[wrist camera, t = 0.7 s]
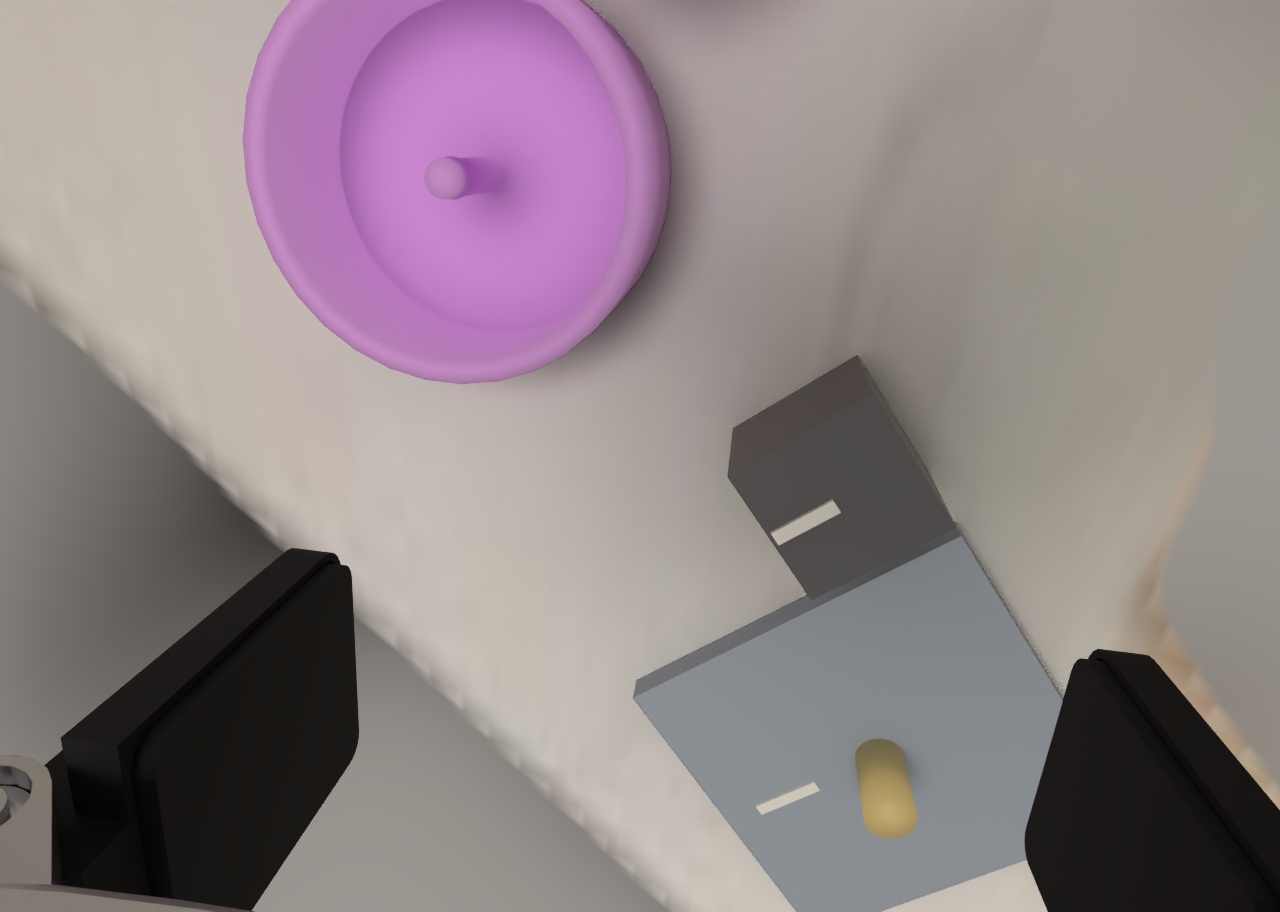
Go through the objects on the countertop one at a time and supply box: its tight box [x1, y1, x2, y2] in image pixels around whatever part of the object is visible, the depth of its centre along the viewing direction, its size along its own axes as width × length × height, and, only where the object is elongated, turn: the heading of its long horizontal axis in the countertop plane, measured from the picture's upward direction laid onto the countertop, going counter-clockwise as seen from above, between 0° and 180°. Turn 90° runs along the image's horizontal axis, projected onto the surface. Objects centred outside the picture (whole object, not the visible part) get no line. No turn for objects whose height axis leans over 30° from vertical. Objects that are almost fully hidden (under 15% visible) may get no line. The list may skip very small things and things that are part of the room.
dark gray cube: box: [728, 355, 957, 600], centre depth 35 cm, size 6×6×6 cm
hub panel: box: [633, 522, 1063, 912], centre depth 40 cm, size 18×18×6 cm
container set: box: [243, 0, 671, 384], centre depth 28 cm, size 25×15×13 cm, turn 142°
